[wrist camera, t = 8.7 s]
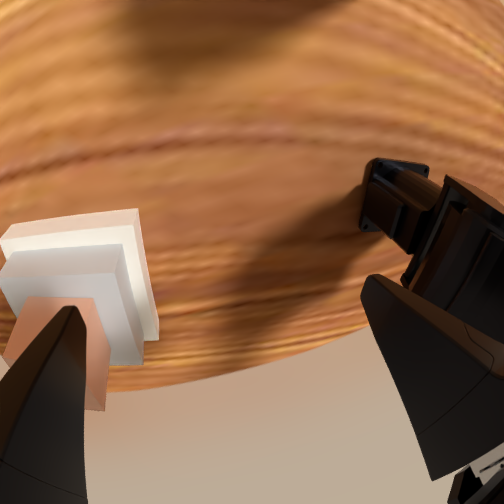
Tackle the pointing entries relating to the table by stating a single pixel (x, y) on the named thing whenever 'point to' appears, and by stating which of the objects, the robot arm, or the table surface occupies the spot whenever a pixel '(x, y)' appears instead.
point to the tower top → (81, 289)
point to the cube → (97, 348)
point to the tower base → (94, 233)
